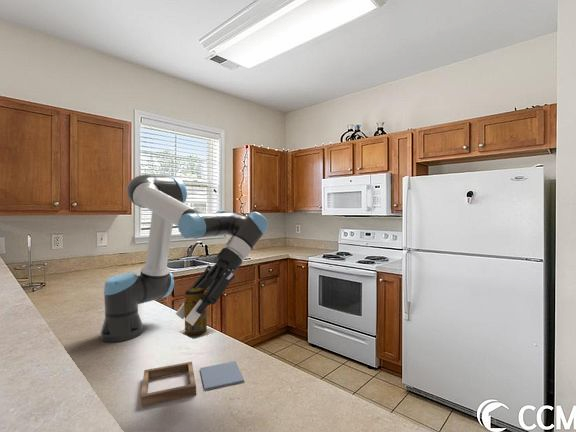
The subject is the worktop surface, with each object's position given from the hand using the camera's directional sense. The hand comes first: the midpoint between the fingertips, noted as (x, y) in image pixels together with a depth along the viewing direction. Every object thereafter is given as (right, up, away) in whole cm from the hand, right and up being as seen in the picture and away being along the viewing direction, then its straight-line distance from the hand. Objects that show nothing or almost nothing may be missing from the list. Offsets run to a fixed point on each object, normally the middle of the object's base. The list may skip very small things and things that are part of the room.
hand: (183, 319), depth 88 cm
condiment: (+3, -4, +2) cm, 6 cm away
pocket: (-4, -19, +1) cm, 19 cm away
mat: (+9, -19, +6) cm, 22 cm away
